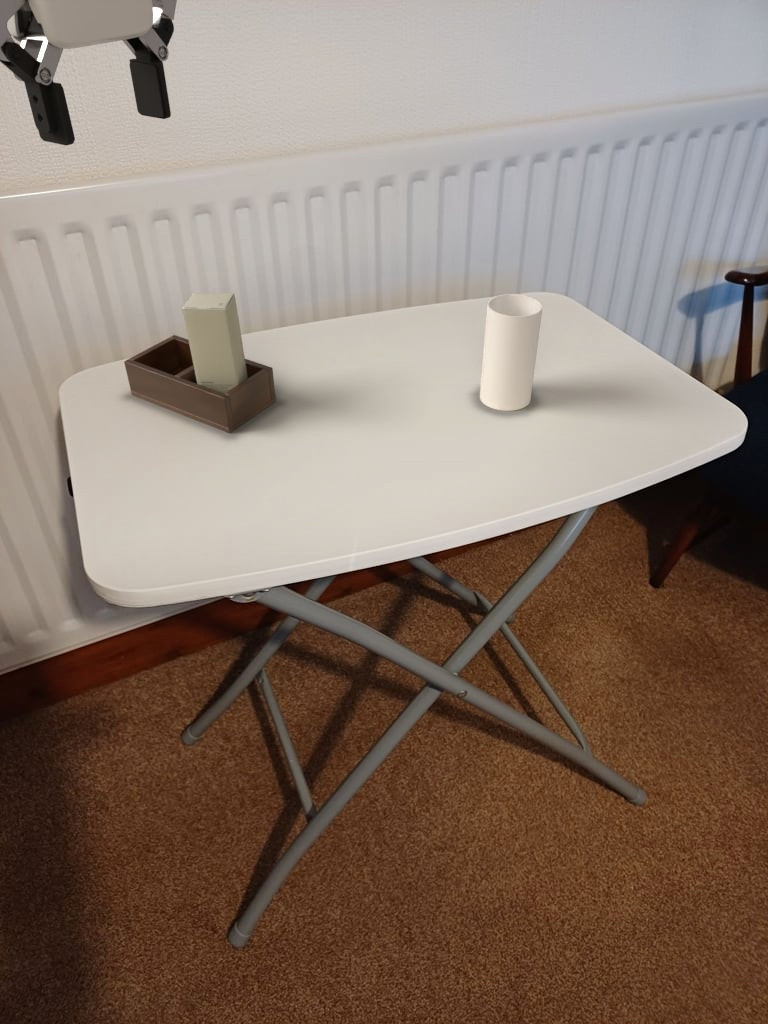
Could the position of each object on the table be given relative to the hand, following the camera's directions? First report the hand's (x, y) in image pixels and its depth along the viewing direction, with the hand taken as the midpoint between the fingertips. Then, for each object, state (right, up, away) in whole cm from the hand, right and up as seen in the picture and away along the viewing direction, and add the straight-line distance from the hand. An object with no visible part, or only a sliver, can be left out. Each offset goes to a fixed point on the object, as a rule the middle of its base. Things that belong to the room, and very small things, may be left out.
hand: (109, 128), depth 61 cm
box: (+2, -17, +33) cm, 37 cm away
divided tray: (-1, -16, +35) cm, 38 cm away
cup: (+36, -16, +35) cm, 53 cm away
